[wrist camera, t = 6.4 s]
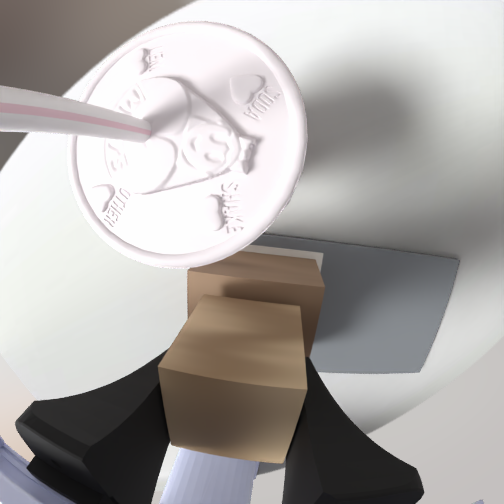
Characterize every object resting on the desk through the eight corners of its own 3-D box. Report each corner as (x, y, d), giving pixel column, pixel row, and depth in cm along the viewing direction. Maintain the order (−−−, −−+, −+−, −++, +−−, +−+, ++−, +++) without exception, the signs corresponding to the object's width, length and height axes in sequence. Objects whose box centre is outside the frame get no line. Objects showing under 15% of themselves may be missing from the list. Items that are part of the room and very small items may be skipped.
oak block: (299, 305, 11) (307, 389, 7) (285, 378, 12) (283, 463, 8) (203, 293, 12) (157, 366, 7) (203, 367, 13) (171, 445, 8)
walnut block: (299, 347, 17) (301, 389, 13) (207, 335, 18) (189, 374, 14) (315, 259, 16) (325, 287, 12) (209, 247, 16) (187, 270, 12)
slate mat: (417, 369, 17) (419, 372, 17) (203, 354, 19) (201, 358, 18) (456, 258, 15) (460, 260, 14) (206, 227, 16) (203, 229, 16)
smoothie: (197, 94, 14) (1, -35, 1) (307, 119, 14) (401, -89, 1) (169, 197, 16) (-65, 281, 3) (275, 228, 16) (233, 471, 2)
